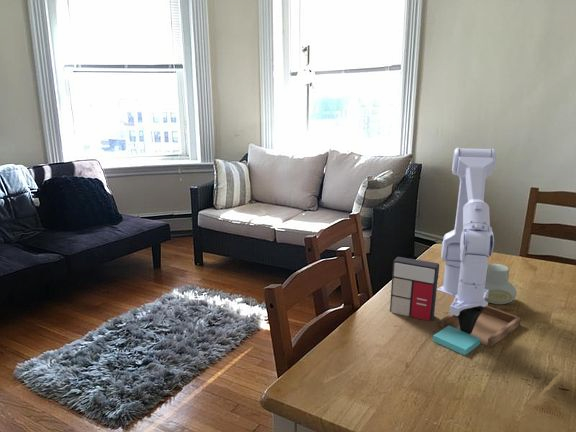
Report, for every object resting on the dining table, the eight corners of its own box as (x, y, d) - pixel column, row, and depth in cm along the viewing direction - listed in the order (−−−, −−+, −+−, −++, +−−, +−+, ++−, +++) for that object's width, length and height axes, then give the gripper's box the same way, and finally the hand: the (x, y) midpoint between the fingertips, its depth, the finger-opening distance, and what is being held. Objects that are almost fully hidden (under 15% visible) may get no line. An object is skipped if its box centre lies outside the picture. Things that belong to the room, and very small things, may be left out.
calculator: (388, 314, 118) (392, 261, 114) (393, 307, 122) (396, 256, 118) (431, 323, 114) (436, 269, 110) (434, 316, 117) (439, 263, 113)
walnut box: (471, 308, 121) (472, 300, 121) (519, 326, 112) (521, 317, 112) (440, 328, 111) (441, 319, 111) (490, 349, 102) (491, 339, 102)
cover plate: (447, 334, 110) (448, 325, 109) (479, 348, 104) (480, 338, 103) (432, 344, 105) (433, 335, 104) (464, 359, 99) (465, 349, 99)
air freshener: (475, 304, 124) (479, 270, 121) (471, 291, 132) (474, 260, 129) (518, 308, 122) (523, 274, 119) (511, 295, 129) (515, 263, 127)
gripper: (473, 294, 95) (466, 350, 99) (503, 277, 105) (496, 328, 108) (443, 284, 101) (437, 338, 104) (474, 268, 110) (468, 318, 113)
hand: (465, 332), depth 107 cm, fingers closed
